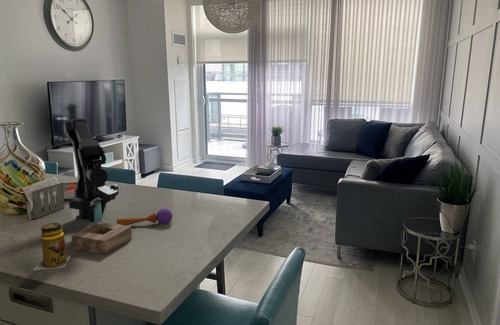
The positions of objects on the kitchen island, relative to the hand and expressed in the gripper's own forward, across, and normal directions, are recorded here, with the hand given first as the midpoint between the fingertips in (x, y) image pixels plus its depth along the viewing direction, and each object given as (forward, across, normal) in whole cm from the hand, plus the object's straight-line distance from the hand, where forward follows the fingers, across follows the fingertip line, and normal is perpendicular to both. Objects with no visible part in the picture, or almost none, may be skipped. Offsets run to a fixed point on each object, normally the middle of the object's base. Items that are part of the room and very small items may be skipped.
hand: (96, 220), depth 138 cm
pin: (+2, 0, 0) cm, 2 cm away
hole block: (+3, -10, -12) cm, 16 cm away
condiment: (+3, -27, -7) cm, 28 cm away
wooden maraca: (+4, +9, -15) cm, 18 cm away
